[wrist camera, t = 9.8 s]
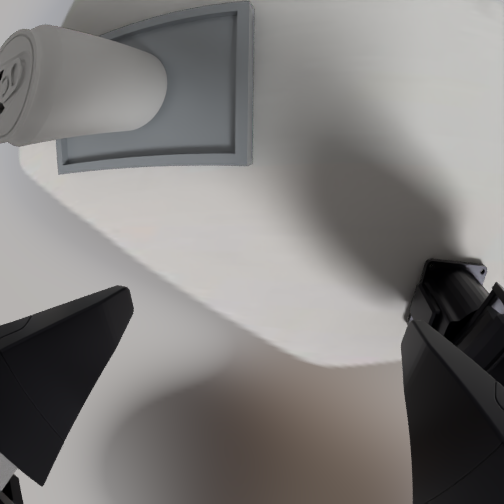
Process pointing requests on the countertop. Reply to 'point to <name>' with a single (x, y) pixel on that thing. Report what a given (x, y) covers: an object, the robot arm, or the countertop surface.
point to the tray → (184, 95)
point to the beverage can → (74, 86)
